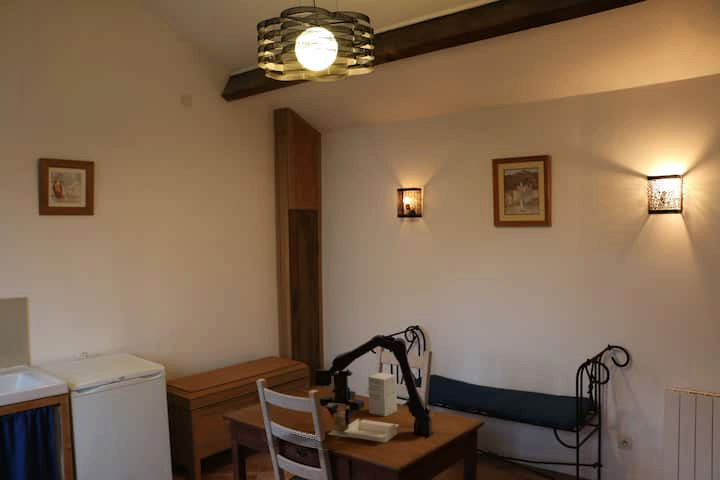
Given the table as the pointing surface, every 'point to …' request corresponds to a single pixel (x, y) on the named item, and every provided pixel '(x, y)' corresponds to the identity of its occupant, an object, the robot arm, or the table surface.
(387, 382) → the supplement box
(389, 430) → the cream tray
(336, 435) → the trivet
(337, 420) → the tea box
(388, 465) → the table surface
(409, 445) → the table surface
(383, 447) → the table surface
